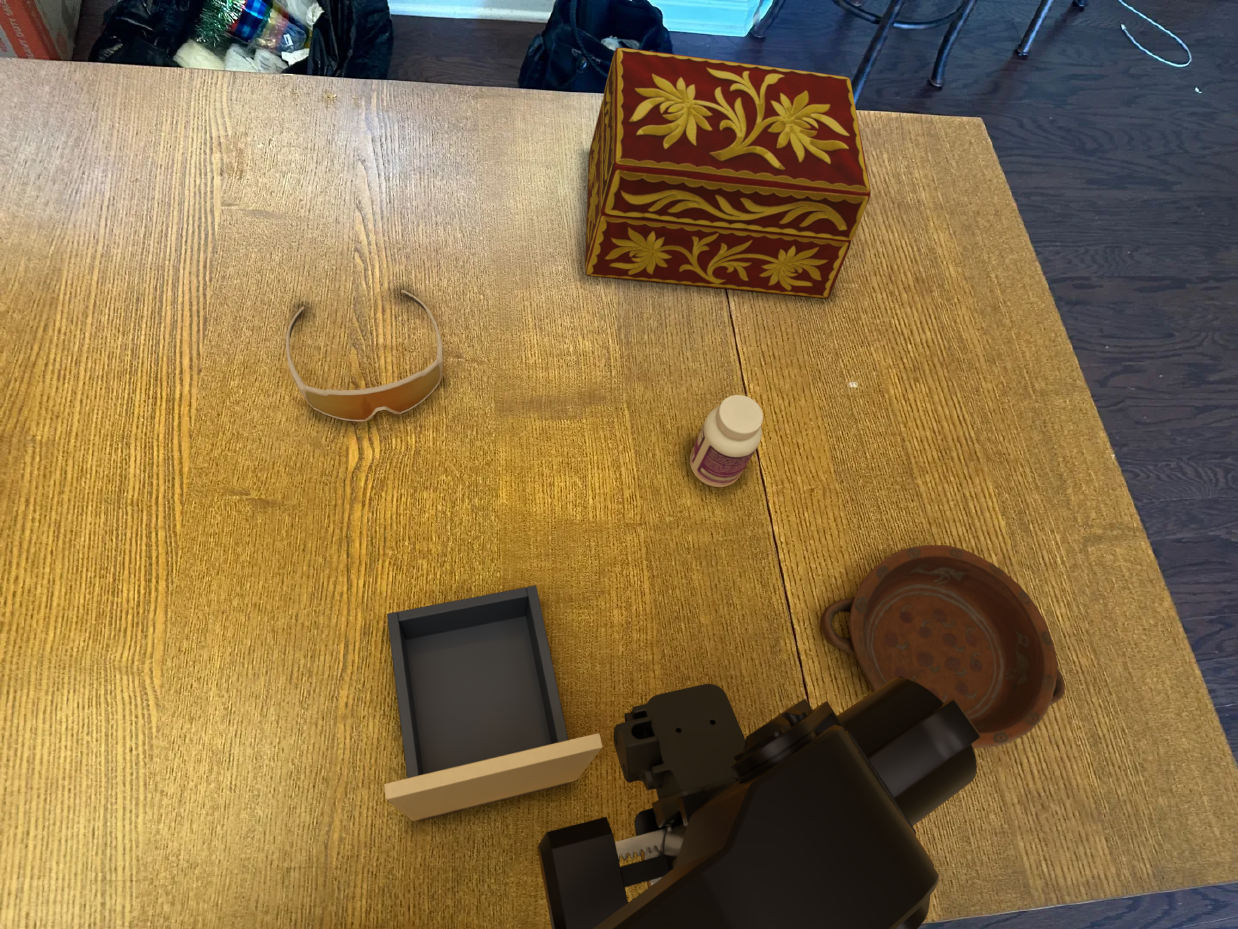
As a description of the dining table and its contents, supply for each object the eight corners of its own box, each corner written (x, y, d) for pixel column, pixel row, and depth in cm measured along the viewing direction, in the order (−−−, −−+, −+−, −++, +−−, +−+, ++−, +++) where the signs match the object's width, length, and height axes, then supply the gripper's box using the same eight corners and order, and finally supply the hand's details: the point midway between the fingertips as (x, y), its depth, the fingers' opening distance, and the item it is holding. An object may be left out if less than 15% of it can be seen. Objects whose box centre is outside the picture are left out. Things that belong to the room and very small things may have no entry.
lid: (383, 783, 42) (385, 799, 42) (599, 732, 45) (603, 747, 44) (410, 809, 56) (412, 821, 55) (575, 768, 58) (577, 780, 58)
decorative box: (584, 276, 87) (600, 169, 74) (588, 153, 96) (603, 37, 83) (828, 300, 91) (886, 201, 77) (811, 179, 99) (860, 71, 86)
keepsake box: (395, 635, 67) (386, 613, 62) (532, 608, 70) (536, 584, 64) (419, 821, 61) (411, 815, 56) (568, 784, 64) (575, 775, 58)
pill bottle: (752, 474, 79) (783, 425, 71) (709, 497, 77) (735, 450, 69) (721, 431, 81) (748, 378, 72) (677, 453, 79) (700, 402, 70)
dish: (821, 536, 77) (841, 515, 73) (1043, 594, 77) (1076, 577, 73) (802, 720, 69) (823, 709, 64) (1050, 784, 69) (1088, 778, 65)
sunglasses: (306, 442, 74) (293, 408, 70) (285, 327, 82) (273, 290, 78) (459, 410, 78) (456, 375, 74) (426, 302, 85) (420, 266, 81)
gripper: (861, 644, 44) (771, 701, 58) (525, 719, 40) (514, 762, 54) (943, 864, 40) (825, 870, 53) (573, 977, 35) (547, 952, 49)
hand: (679, 856), depth 52 cm, fingers closed
